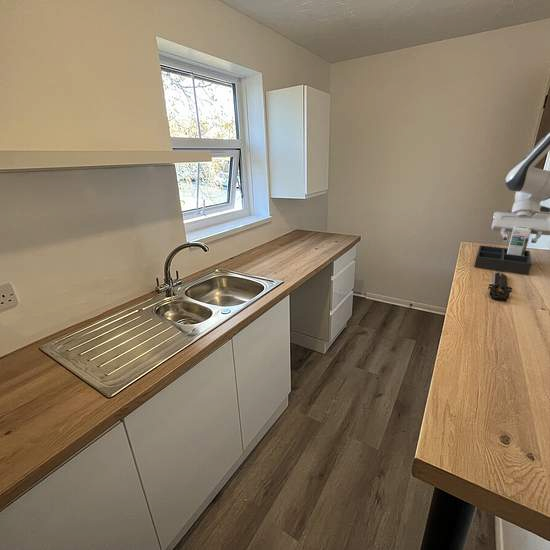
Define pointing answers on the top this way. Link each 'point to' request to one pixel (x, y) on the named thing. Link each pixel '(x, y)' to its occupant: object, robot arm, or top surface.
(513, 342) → the top surface
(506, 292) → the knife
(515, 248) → the syrup box
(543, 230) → the robot arm
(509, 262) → the tray
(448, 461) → the top surface
